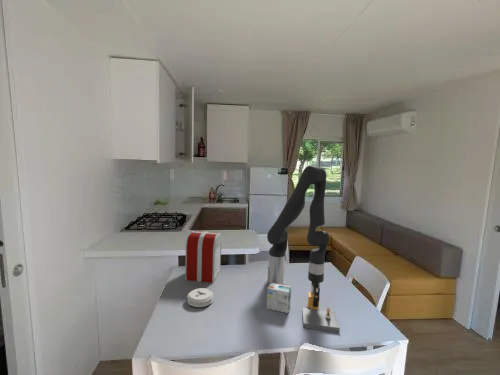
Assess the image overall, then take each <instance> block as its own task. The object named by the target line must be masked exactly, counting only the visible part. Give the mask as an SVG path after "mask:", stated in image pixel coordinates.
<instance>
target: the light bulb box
mask: <svg viewBox="0 0 500 375" xmlns="http://www.w3.org/2000/svg"><path fill="white" fill-rule="evenodd" d="M266 292H267V293H266V294H267V296H266V309H267V310H271V309H272V310H271V311H275V310H277V311H276V312H279V311H281V313H284V312H285V314H288V313H289V311H290V309H289V308H291V301H292V300H291V298H292V285H291V286H290V285H287V284H285V285H284V284H283V285H280V284H275V283H271V284H268V287H267V291H266Z"/></svg>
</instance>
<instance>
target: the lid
mask: <svg viewBox="0 0 500 375" xmlns="http://www.w3.org/2000/svg"><path fill="white" fill-rule="evenodd" d="M213 301H214V293H213V291H211V290H210V289H207V288H204V287H203V288H202V287H200V288H195V289H192V290H191V291H190V292H189V293H188V294H187V304H188V305H189V306H192V307H195V308H205V307H207V306H210V305H211V304H212V303H213Z"/></svg>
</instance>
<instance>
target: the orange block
mask: <svg viewBox="0 0 500 375" xmlns="http://www.w3.org/2000/svg"><path fill="white" fill-rule="evenodd" d="M307 294H308V295H307V308H311V309H318V310H320V300H319V301H318V307H313V294H312V291H308V292H307ZM315 297H317V296H315ZM320 298H321V297H319V299H320Z"/></svg>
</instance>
